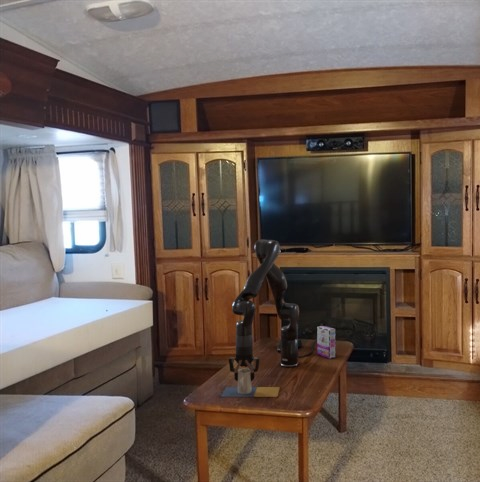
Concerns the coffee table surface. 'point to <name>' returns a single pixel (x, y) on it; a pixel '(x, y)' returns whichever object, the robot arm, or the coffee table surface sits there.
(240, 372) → the mug
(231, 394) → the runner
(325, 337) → the candy bar box
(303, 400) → the coffee table surface
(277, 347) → the miniature car
